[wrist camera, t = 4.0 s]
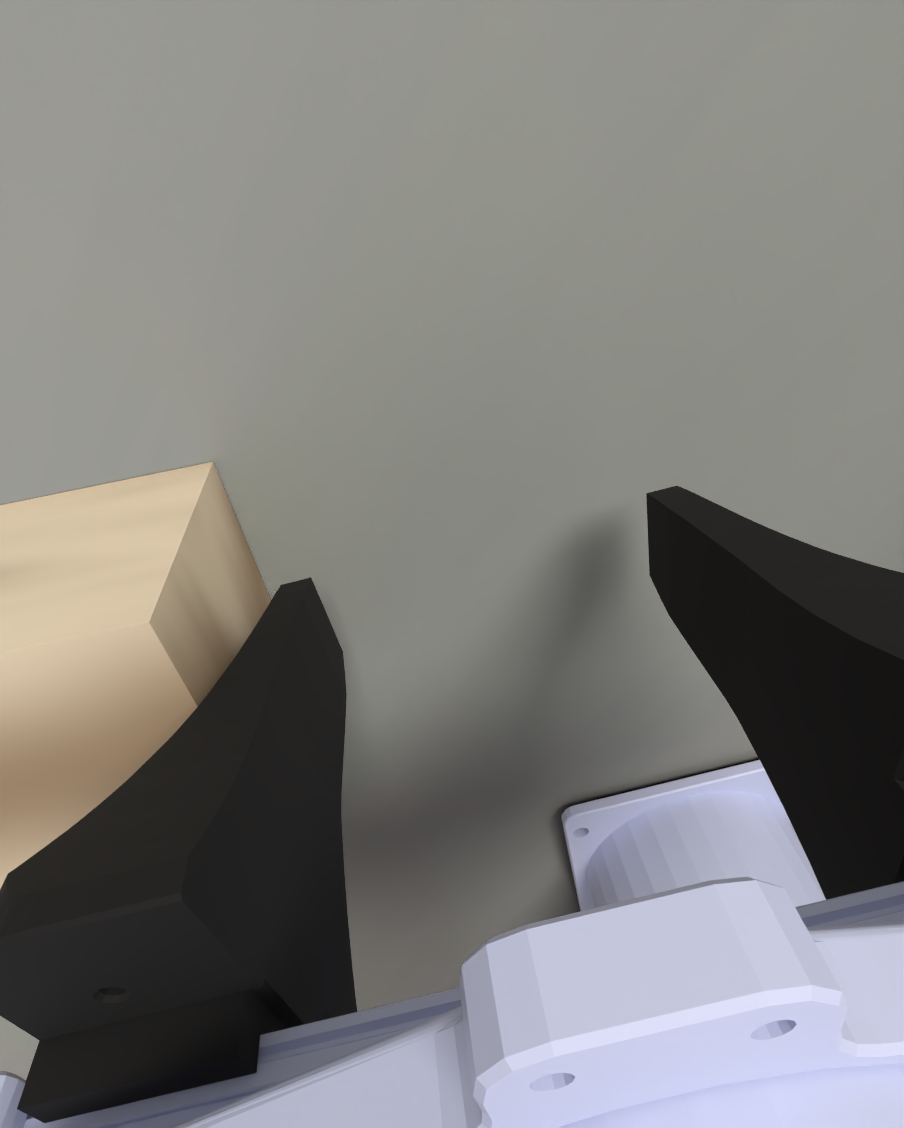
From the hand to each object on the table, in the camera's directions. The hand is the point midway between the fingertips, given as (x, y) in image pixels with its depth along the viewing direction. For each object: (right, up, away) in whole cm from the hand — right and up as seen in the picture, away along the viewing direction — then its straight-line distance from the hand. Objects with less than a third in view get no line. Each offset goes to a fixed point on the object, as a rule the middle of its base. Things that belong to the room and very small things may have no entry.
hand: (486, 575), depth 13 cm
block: (-8, -1, +2) cm, 8 cm away
